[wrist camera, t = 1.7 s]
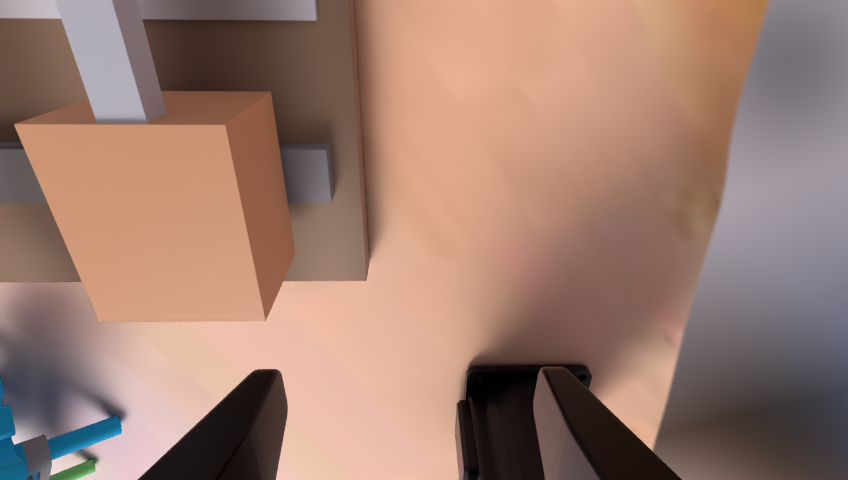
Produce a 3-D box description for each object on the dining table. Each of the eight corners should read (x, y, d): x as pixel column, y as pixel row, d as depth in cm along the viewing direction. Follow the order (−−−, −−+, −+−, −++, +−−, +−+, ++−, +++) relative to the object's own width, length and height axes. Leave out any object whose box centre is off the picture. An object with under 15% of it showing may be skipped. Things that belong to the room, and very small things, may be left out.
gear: (-57, 328, 20) (-10, 552, 16) (102, 300, 24) (168, 470, 21) (-45, 441, 26) (-8, 625, 22) (82, 401, 30) (130, 549, 26)
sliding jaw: (251, -77, 13) (177, -106, 9) (298, 247, 18) (265, 320, 14) (69, -79, 13) (-87, -109, 9) (169, 247, 18) (99, 321, 14)
